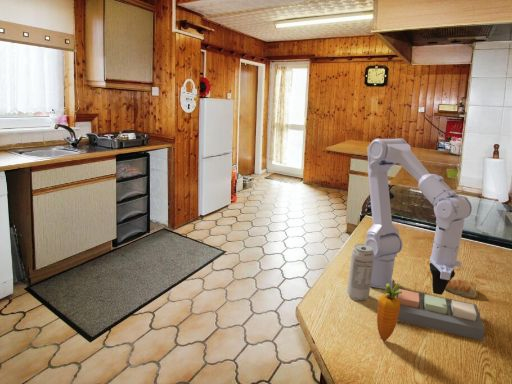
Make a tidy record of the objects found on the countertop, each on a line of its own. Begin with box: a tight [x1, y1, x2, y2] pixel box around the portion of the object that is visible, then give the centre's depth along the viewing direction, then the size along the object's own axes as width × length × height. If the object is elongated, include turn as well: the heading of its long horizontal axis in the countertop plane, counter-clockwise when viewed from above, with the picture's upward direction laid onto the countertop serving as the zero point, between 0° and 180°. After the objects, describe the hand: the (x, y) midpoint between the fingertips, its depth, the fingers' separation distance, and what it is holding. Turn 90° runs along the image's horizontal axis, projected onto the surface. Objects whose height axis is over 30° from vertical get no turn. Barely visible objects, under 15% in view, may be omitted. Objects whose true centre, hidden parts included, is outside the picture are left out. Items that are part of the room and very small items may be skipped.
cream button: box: [450, 299, 477, 321], centre depth 93 cm, size 5×5×3 cm
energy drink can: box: [346, 243, 374, 302], centre depth 103 cm, size 6×6×15 cm
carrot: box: [376, 283, 402, 342], centre depth 84 cm, size 5×5×15 cm
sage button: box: [423, 293, 447, 314], centre depth 95 cm, size 5×5×3 cm
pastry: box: [444, 278, 477, 299], centre depth 110 cm, size 9×7×4 cm
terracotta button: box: [398, 288, 420, 308], centre depth 98 cm, size 5×5×3 cm
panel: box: [391, 286, 486, 341], centre depth 96 cm, size 21×12×3 cm, turn 69°
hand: (437, 292), depth 94 cm, fingers closed
